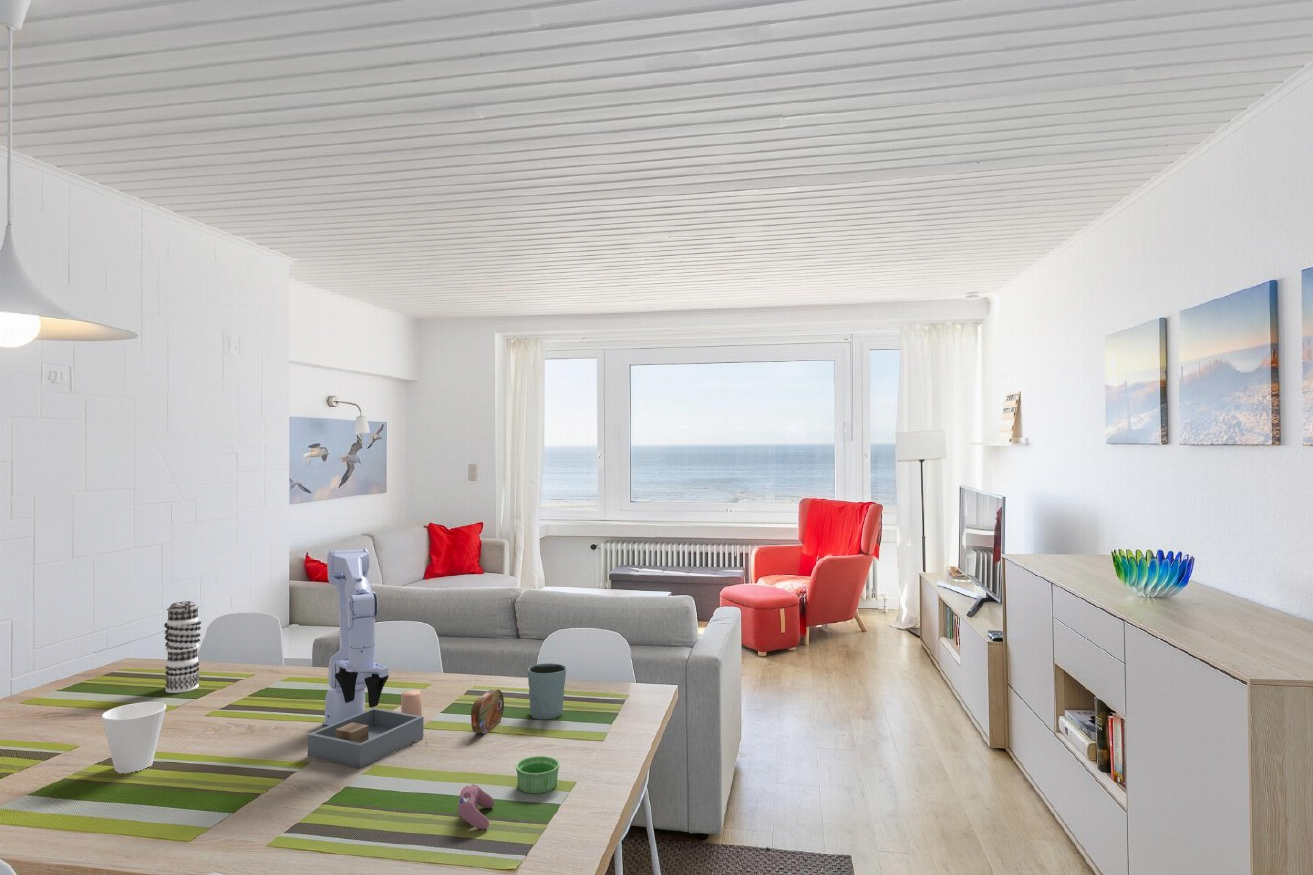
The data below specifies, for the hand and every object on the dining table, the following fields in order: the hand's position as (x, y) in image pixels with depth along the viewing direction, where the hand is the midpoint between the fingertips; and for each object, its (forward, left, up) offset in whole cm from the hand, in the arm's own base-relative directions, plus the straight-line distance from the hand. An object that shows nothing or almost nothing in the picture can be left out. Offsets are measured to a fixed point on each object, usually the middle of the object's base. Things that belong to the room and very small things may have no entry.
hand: (361, 703), depth 179 cm
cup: (-37, -29, -11) cm, 48 cm away
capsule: (-2, +19, -10) cm, 22 cm away
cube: (+1, -3, -9) cm, 10 cm away
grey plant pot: (+27, +38, -11) cm, 48 cm away
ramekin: (+49, 0, -11) cm, 50 cm away
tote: (+1, +1, -10) cm, 10 cm away
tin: (+19, +23, -11) cm, 32 cm away
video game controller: (+46, -17, -11) cm, 50 cm away
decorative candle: (-82, +12, -11) cm, 84 cm away
